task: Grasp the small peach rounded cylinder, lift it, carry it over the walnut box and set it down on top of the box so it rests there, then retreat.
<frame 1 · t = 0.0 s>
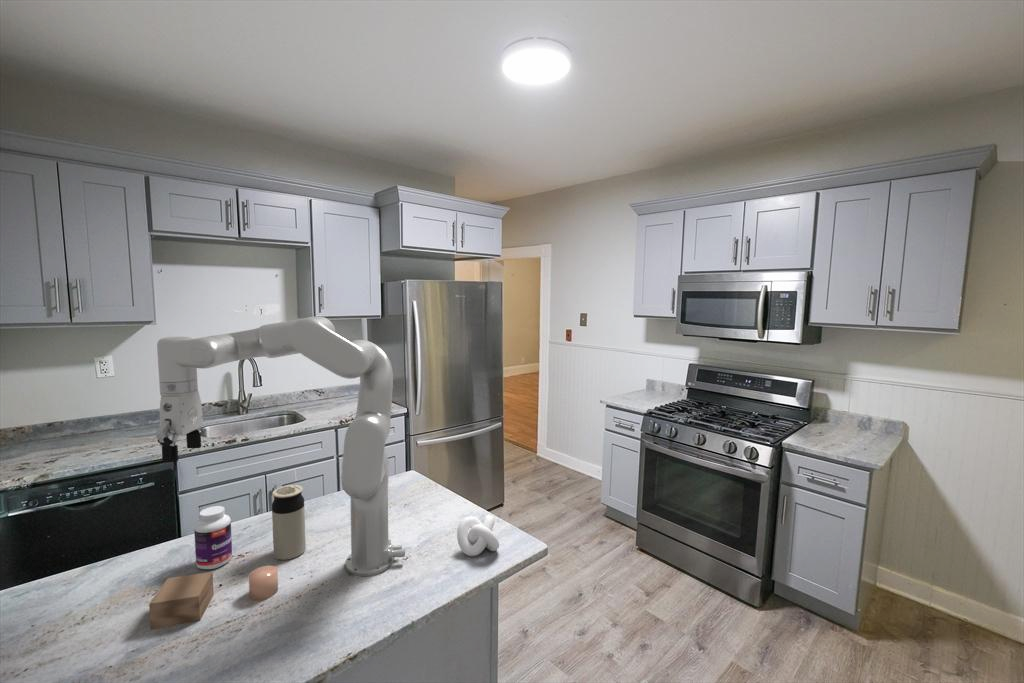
hand: (182, 454, 112), 31 cm above the counter, fingers open, 9 cm apart
travel mug: (290, 553, 125), on the counter
walnut box: (184, 611, 101), on the counter
pill bottle: (214, 563, 119), on the counter
white knot sculpture: (481, 551, 127), on the counter
peach rounded cylinder: (264, 592, 108), on the counter
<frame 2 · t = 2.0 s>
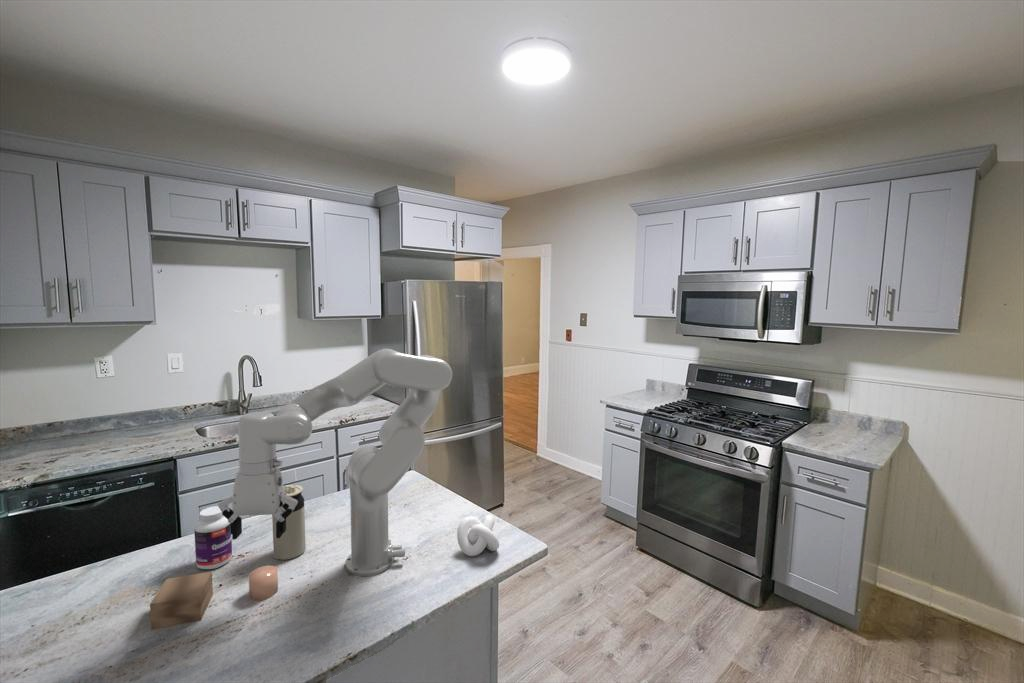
hand: (258, 535, 106), 14 cm above the counter, fingers open, 9 cm apart
nothing on the counter moved.
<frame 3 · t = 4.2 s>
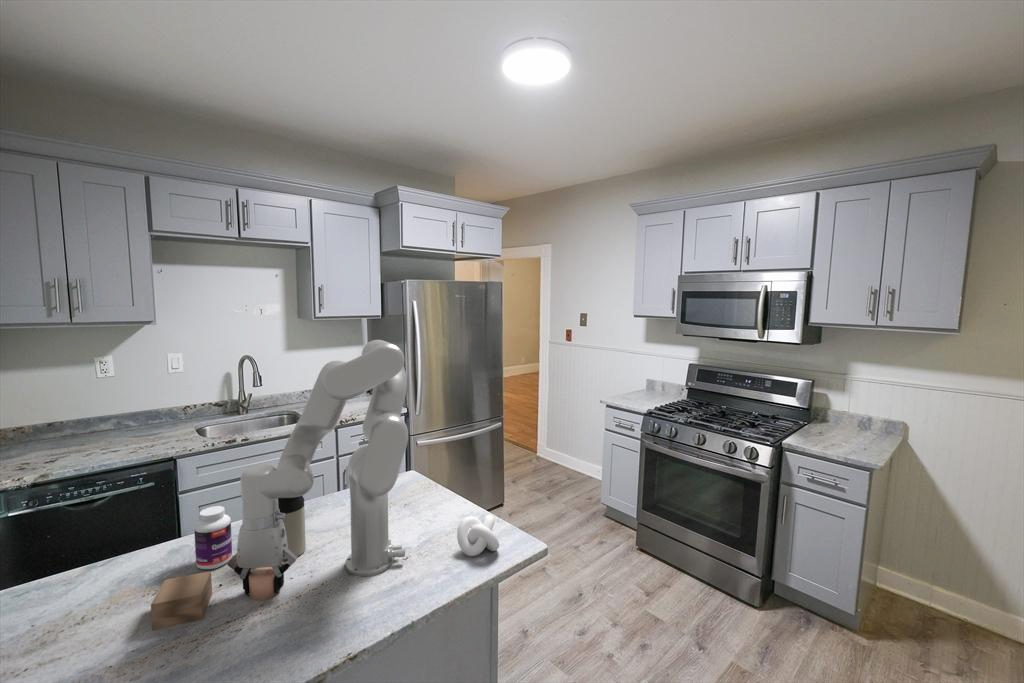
hand: (263, 589, 108), 1 cm above the counter, fingers closed on peach rounded cylinder, 6 cm apart
peach rounded cylinder: (264, 592, 108), on the counter, touching gripper
everything else where it was.
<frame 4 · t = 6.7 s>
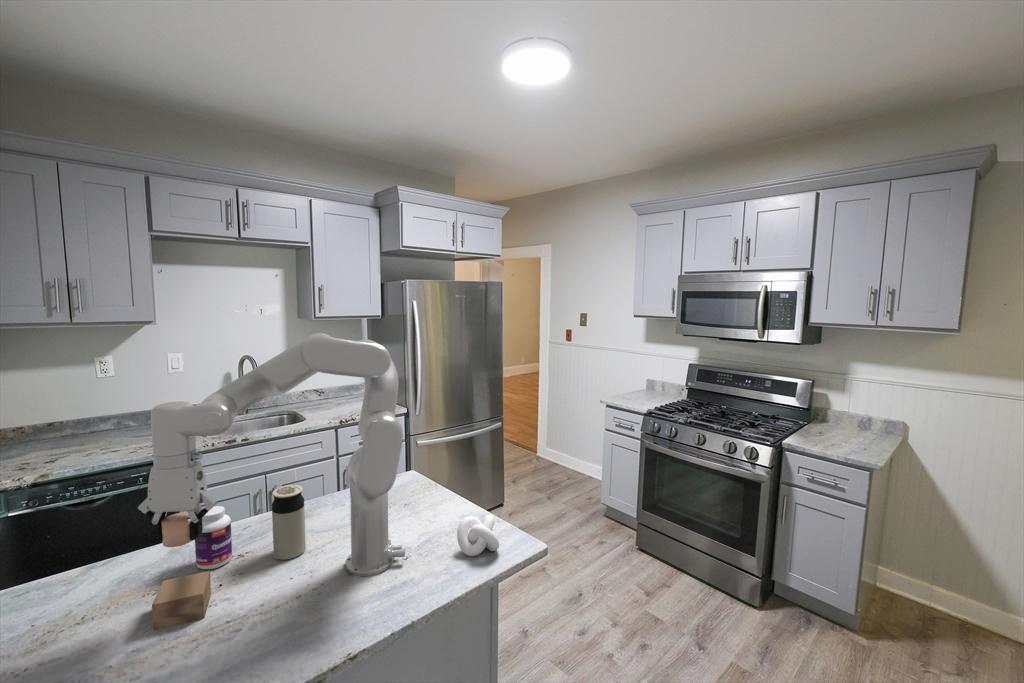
hand: (179, 537, 99), 17 cm above the counter, fingers closed on peach rounded cylinder, 6 cm apart
peach rounded cylinder: (179, 539, 99), point 17 cm above the counter, touching gripper
everything else where it was.
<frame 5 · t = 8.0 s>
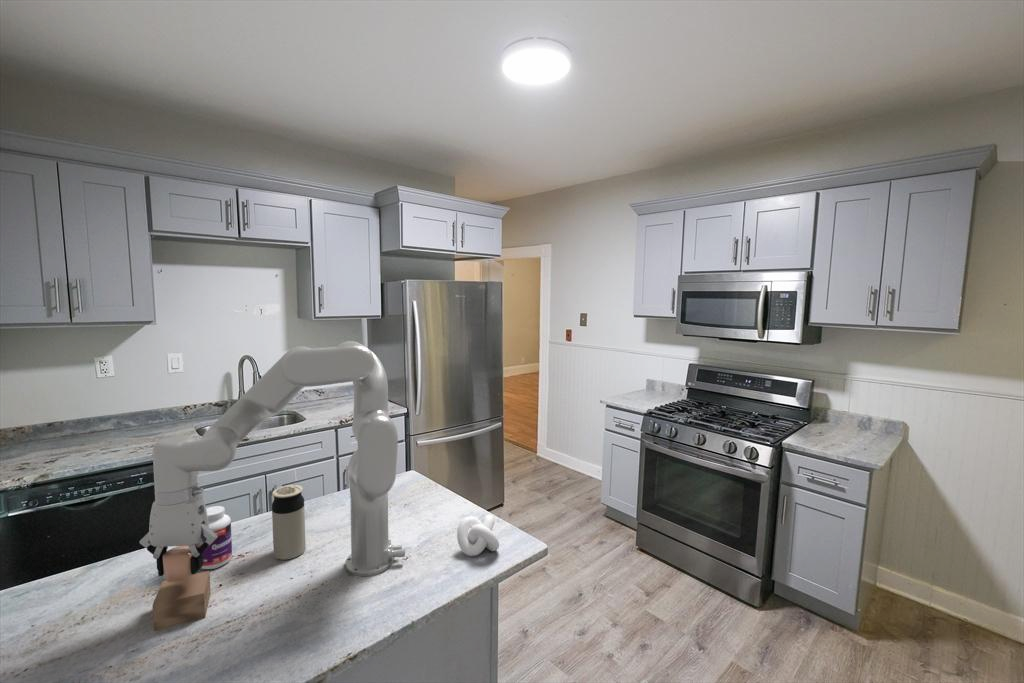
hand: (180, 570, 100), 10 cm above the counter, fingers closed on peach rounded cylinder, 6 cm apart
peach rounded cylinder: (180, 573, 100), point 9 cm above the counter, touching gripper
everything else where it was.
when the fingers open (8 cm above the counter, at t = 9.2 s): peach rounded cylinder drops 2 cm, resting on walnut box.
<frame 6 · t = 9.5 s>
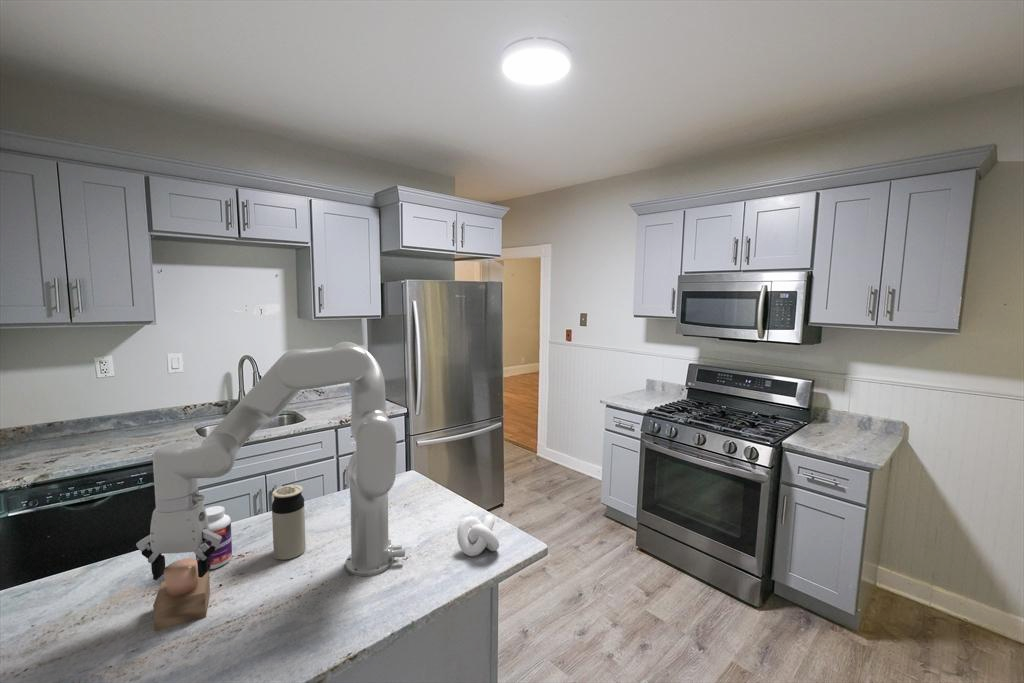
hand: (181, 574, 100), 9 cm above the counter, fingers open, 8 cm apart
walnut box: (184, 612, 101), on the counter, touching peach rounded cylinder
peach rounded cylinder: (182, 587, 100), point 6 cm above the counter, touching walnut box
everything else where it was.
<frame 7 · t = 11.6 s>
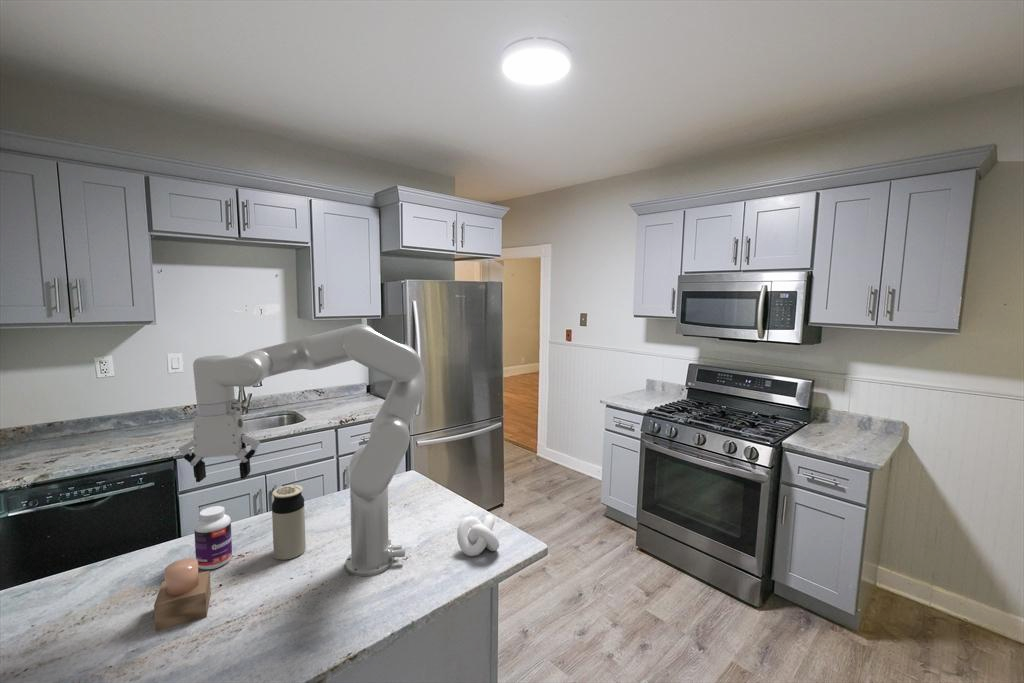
hand: (223, 478, 107), 27 cm above the counter, fingers open, 9 cm apart
nothing on the counter moved.
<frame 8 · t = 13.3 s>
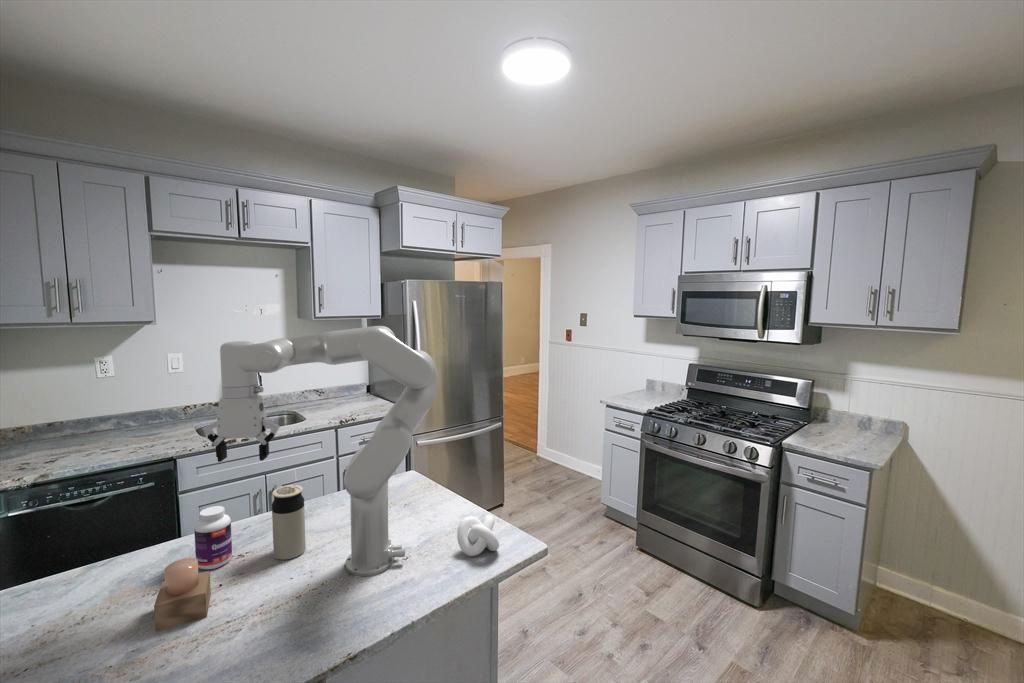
hand: (243, 459, 112), 30 cm above the counter, fingers open, 9 cm apart
nothing on the counter moved.
at the end: peach rounded cylinder 0.4 cm off-centre on the walnut box, point 6.0 cm above the walnut box's base; peach rounded cylinder tilted 0°; the gripper is holding nothing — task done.
